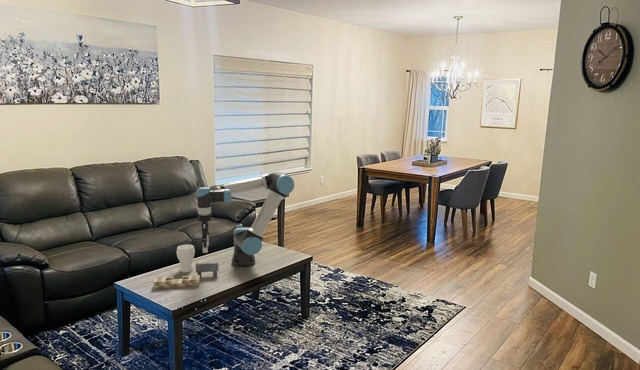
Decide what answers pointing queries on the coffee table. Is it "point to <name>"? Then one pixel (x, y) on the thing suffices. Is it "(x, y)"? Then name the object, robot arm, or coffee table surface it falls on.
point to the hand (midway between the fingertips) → (205, 249)
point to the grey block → (207, 268)
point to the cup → (185, 257)
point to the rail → (176, 282)
